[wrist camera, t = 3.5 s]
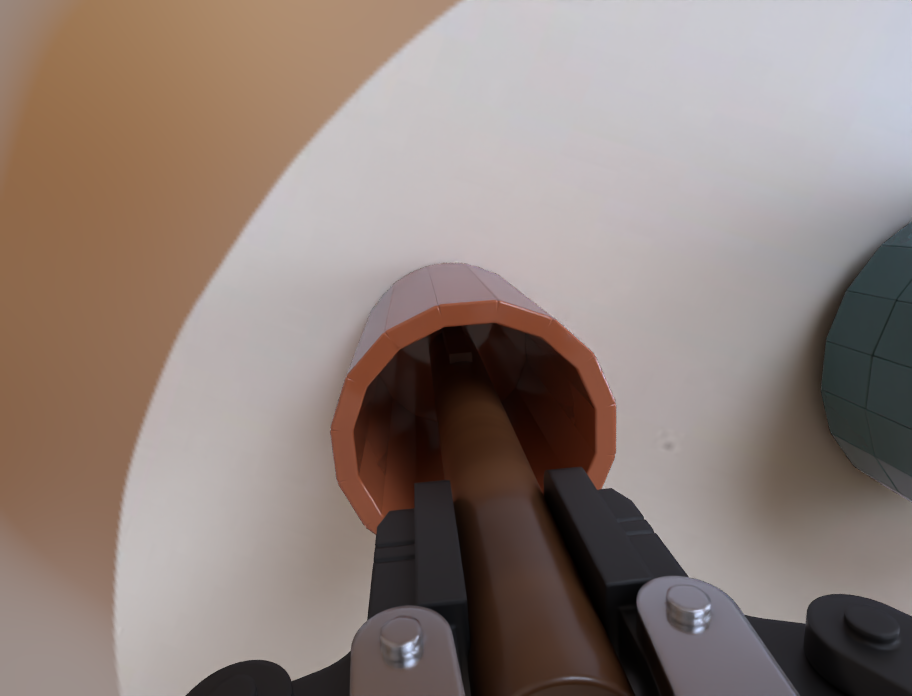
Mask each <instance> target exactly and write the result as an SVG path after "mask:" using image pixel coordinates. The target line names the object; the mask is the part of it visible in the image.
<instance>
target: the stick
mask: <svg viewBox="0 0 912 696" xmlns="http://www.w3.org/2000/svg"><path fill="white" fill-rule="evenodd" d="M441 330H442V333H440V334H438V335H437V336H436V337H435V338H434V340H433V341H432V343H431V345H430V350H429V356H430V364H431V372H432V380H433V389H434V397H435V405H436V413H437V421H438V430H439V438H440V446H441V454H442V462H443V471H444V479H445V480H450V483H451V490H452V497H453V504H454V511H455V518H456V525H457V532H458V539H459V546H460V553H461V560H462V567H463V574H464V581H465V588H466V595H467V605H468V618H469V632H470V645H471V647H470V651H469V655H468V676H469V684H470V692H471V696H635V693H634V691H633V689H632V687H631V685H630V682H629V680H628V678H627V676H626V674H625V672H624V669H623V667H622V665H621V663H620V661H619V658H618V656H617V654H616V652H615V650H614V648H613V645H612V643H611V641H610V639H609V637H608V634H607V632H606V630H605V628H604V626H603V624H602V621H601V619H600V617H599V615H598V613H597V610H596V608H595V606H594V604H593V602H592V599H591V597H590V595H589V593H588V591H587V589H586V586H585V584H584V582H583V580H582V578H581V575H580V573H579V571H578V569H577V567H576V565H575V562H574V560H573V558H572V556H571V554H570V551H569V549H568V547H567V545H566V543H565V541H564V538H563V536H562V534H561V532H560V530H559V527H558V525H557V523H556V521H555V519H554V517H553V514H552V512H551V510H550V508H549V506H548V503H547V501H546V499H545V497H544V495H543V493H542V490H541V488H540V486H539V484H538V482H537V479H536V477H535V475H534V473H533V471H532V469H531V466H530V464H529V462H528V460H527V458H526V455H525V453H524V451H523V449H522V447H521V445H520V442H519V440H518V438H517V436H516V434H515V431H514V429H513V427H512V425H511V423H510V421H509V418H508V416H507V414H506V412H505V410H504V407H503V405H502V403H501V401H500V399H499V396H498V394H497V392H496V390H495V388H494V386H493V383H492V381H491V379H490V377H489V375H488V372H487V370H486V368H485V366H484V364H483V362H482V359H481V357H480V355H479V353H478V351H477V348H476V346H475V344H474V342H473V340H472V339H471V338H470V336H469V335H467V334H466V333H464V332H463V329H462V327H461V326H454V327H444V328H442V329H441Z"/></svg>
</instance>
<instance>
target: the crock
mask: <svg viewBox="0 0 912 696" xmlns="http://www.w3.org/2000/svg"><path fill="white" fill-rule="evenodd" d="M454 326H461V327H462V329H463V332H464V333H466V334H467V335H469V336H470V338H471V339H472V340H473V342H474V344H475V346H476V348H477V351H478V353H479V355H480V357H481V359H482V362H483V364H484V366H485V368H486V370H487V372H488V375H489V377H490V379H491V381H492V383H493V386H494V388H495V390H496V392H497V394H498V396H499V399H500V401H501V403H502V405H503V407H504V410H505V412H506V414H507V416H508V418H509V421H510V423H511V425H512V427H513V429H514V431H515V434H516V436H517V438H518V440H519V442H520V445H521V447H522V449H523V451H524V453H525V455H526V458H527V460H528V462H529V464H530V466H531V469H532V471H533V473H534V475H535V477H536V479H537V482H538V484H539V486H540V488H541V490H542V493H543V495H544V472H545V470H551V469H561V468H571V467H582V468H583V469H584V470H585V472H586V473H587V475H588V476H589V478H590V479H591V481H592V482H593V484H594V485H595V487H596V489H597V490H599V489H602V487H603V484H604V482H605V480H606V477H607V475H608V473H609V470H610V468H611V466H612V463H613V461H614V459H615V454H616V404H615V399H614V396H613V394H612V392H611V390H610V387H609V385H608V383H607V381H606V378H605V376H604V374H603V372H602V369H601V367H600V365H599V362H598V360H597V358H596V356H595V355H594V353H593V352H592V351H591V350H590V349H588V348H587V347H586V346H585V345H584V344H583V343H582V342H581V341H579V340H578V339H577V338H576V337H575V336H574V335H573V334H572V333H570V332H569V331H568V330H567V329H566V328H565V327H564V326H563V325H561V324H560V323H559V322H558V321H557V320H556V319H555V318H553V317H552V316H551V315H550V314H548V313H547V312H546V311H544V310H543V309H542V308H541V307H539V306H538V305H537V304H535V303H534V302H533V301H532V300H530V299H529V298H528V297H526V296H525V295H524V294H523V293H521V292H520V291H519V290H517V289H516V288H515V287H514V286H512V285H511V284H510V283H508V282H507V281H506V280H505V279H503V278H502V277H501V276H499V275H497V274H496V273H493V272H490V271H488V270H485V269H483V268H480V267H477V266H473V265H469V264H466V263H464V264H463V263H441V264H434V265H429V266H426V267H423V268H420V269H418V270H416V271H413V272H411V273H409V274H408V275H406V276H404V277H403V278H401V279H400V280H398V281H396V282H395V283H394V284H393V285H392V286H391V287H390V288H389V289H388V290H387V291H386V292H385V293H384V294H383V296H382V297H381V298H380V300H379V301H378V303H377V304H376V305H375V306H374V307H373V309H372V311H371V313H370V315H369V318H368V320H367V323H366V326H365V328H364V331H363V333H362V336H361V339H360V341H359V344H358V346H357V349H356V352H355V354H354V357H353V359H352V362H351V365H350V367H349V370H348V372H347V375H346V377H345V380H344V384H343V387H342V390H341V394H340V397H339V400H338V404H337V407H336V410H335V414H334V417H333V420H332V423H331V431H330V435H331V442H332V450H333V457H334V464H335V472H336V479H337V481H338V485H339V486H340V488H341V489H342V491H343V493H344V494H345V496H346V497H347V499H348V501H349V502H350V504H351V505H352V507H353V509H354V510H355V512H356V513H357V515H358V517H359V518H360V520H361V521H362V523H363V525H365V527H366V528H367V529H369V530H370V531H371V532H373V533H374V534H376V533H377V526H378V525H379V524H380V523H381V521H382V520H383V519H384V517H385V516H386V515H387V513H388V512H389V511H393V510H402V509H412V508H415V505H414V483H420V482H430V481H440V480H445V479H444V471H443V462H442V454H441V446H440V438H439V430H438V421H437V413H436V405H435V397H434V389H433V380H432V372H431V364H430V356H429V350H430V345H431V343H432V341H433V340H434V338H435V337H436V336H437V335H438V334H440V333H442V330H441V329H442V328H444V327H454Z"/></svg>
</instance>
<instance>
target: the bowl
mask: <svg viewBox="0 0 912 696" xmlns="http://www.w3.org/2000/svg"><path fill="white" fill-rule="evenodd" d="M821 394H822V398H823V402H824V407H825V411H826V415H827V420H828V424H829V428H830V432H831V434H832V435H833V437H834V438H835V440H836V441H837V442H838V444H839V445H840V447H841V448H842V450H843V451H844V453H845V454H846V456H847V457H848V458H849V460H850V461H851V463H852V464H853V466H855V467H856V468H857V469H859V470H860V471H862V472H863V473H865V474H866V475H868V476H869V477H871V478H873V479H874V480H876V481H877V482H879V483H880V484H882V485H883V486H885V487H886V488H888V489H890V490H891V491H893V492H895V493H897V494H898V495H900V496H902V497H903V498H905V499H907V500H908V501H910V502H912V222H910V223H909V224H908V225H906V226H905V227H904V228H903V229H901V230H900V231H899V232H897V233H896V234H895V235H894V236H892V237H891V238H890V239H888V240H887V241H886V242H884V243H883V244H882V246H880V247H879V248H878V250H877V251H876V252H875V253H874V255H873V256H872V257H871V259H870V260H869V261H868V263H867V264H866V265H865V267H864V268H863V269H862V270H861V272H860V273H859V274H858V276H857V277H856V278H855V280H854V281H853V282H852V284H851V285H850V286H849V287H848V289H847V291H846V292H845V294H844V297H843V299H842V302H841V304H840V306H839V309H838V311H837V314H836V316H835V319H834V321H833V323H832V326H831V328H830V331H829V333H828V336H827V338H826V344H825V353H824V363H823V373H822V382H821Z"/></svg>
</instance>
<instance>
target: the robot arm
mask: <svg viewBox="0 0 912 696" xmlns="http://www.w3.org/2000/svg"><path fill="white" fill-rule="evenodd" d="M544 497H545V499H546V501H547V503H548V506H549V508H550V510H551V512H552V514H553V517H554V519H555V521H556V523H557V525H558V527H559V530H560V532H561V534H562V536H563V538H564V541H565V543H566V545H567V547H568V549H569V551H570V554H571V556H572V558H573V560H574V562H575V565H576V567H577V569H578V571H579V573H580V575H581V578H582V580H583V582H584V584H585V586H586V589H587V591H588V593H589V595H590V597H591V599H592V602H593V604H594V606H595V608H596V610H597V613H598V615H599V617H600V619H601V621H602V624H603V626H604V628H605V630H606V632H607V634H608V637H609V639H610V641H611V643H612V645H613V648H614V650H615V652H616V654H617V656H618V658H619V661H620V663H621V665H622V667H623V669H624V672H625V674H626V676H627V678H628V680H629V682H630V685H631V687H632V689H633V691H634V693H635V696H912V616H910V615H908V614H905V613H903V612H901V611H899V610H897V609H895V608H893V607H890V606H888V605H886V604H883V603H881V602H878V601H875V600H872V599H868V598H864V597H860V596H854V595H846V594H831V595H825V596H822V597H819V598H817V599H815V600H814V601H812V602H811V604H810V605H809V607H808V609H807V616H806V624H803V623H795V622H787V621H779V620H771V619H763V618H757V617H751V616H747V615H744V614H743V612H742V611H741V610H740V608H739V607H738V605H737V604H736V603H735V602H734V600H733V599H732V598H731V597H729V596H728V595H727V594H726V593H725V592H723V591H722V590H720V589H719V588H717V587H715V586H713V585H711V584H709V583H707V582H704V581H701V580H698V579H694V578H690V577H688V575H687V574H686V573H685V571H684V570H683V569H682V567H681V566H680V565H679V563H678V562H677V561H676V559H675V558H674V557H673V555H672V554H671V553H670V551H669V550H668V549H667V547H666V546H665V545H664V543H663V542H662V541H661V539H660V538H659V537H658V535H657V534H656V533H654V531H653V529H652V527H651V526H650V525H649V523H648V522H647V521H646V520H644V517H643V515H642V514H641V513H640V511H639V510H638V508H637V507H636V506H635V504H634V503H633V502H632V501H631V500H630V499H628V498H626V497H625V496H623V495H622V494H620V493H618V492H617V491H615V490H613V489H612V488H609V489H599V490H597V489H596V487H595V485H594V484H593V482H592V481H591V479H590V478H589V476H588V475H587V473H586V472H585V470H584V469H583V468H582V467H571V468H561V469H551V470H545V472H544ZM414 505H415V508H412V509H402V510H393V511H389V512H388V513H387V515H386V516H385V517H384V519H383V520H382V521H381V523H380V524H379V525H378V526H377V533H376V542H375V552H374V563H373V571H372V581H371V590H370V600H369V609H368V619H367V621H366V622H365V623H364V624H363V625H362V626H361V628H360V629H359V630H358V631H357V633H356V635H355V636H354V639H353V642H352V646H351V651H350V652H349V653H348V654H347V655H346V656H344V657H343V658H342V659H340V660H339V661H337V662H336V663H334V664H332V665H331V666H329V667H326V668H324V669H322V670H320V671H317V672H315V673H312V674H310V675H307V676H304V677H302V678H299V679H297V680H294V681H292V682H291V679H290V677H289V675H288V673H287V672H286V671H285V670H284V669H283V668H282V667H281V666H279V665H277V664H275V663H273V662H269V661H265V660H249V661H243V662H239V663H235V664H232V665H229V666H227V667H225V668H222V669H220V670H218V671H216V672H215V673H213V674H211V675H210V676H208V677H207V678H205V679H204V680H202V681H201V682H200V683H199V684H198V685H197V686H195V687H194V688H193V689H192V690H191V691H190V692H189V693H188V694H187V695H186V696H471V692H470V684H469V676H468V655H469V651H470V647H471V645H470V632H469V618H468V605H467V595H466V588H465V581H464V574H463V567H462V560H461V553H460V546H459V539H458V532H457V525H456V518H455V511H454V504H453V497H452V490H451V483H450V480H440V481H430V482H420V483H414Z"/></svg>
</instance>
